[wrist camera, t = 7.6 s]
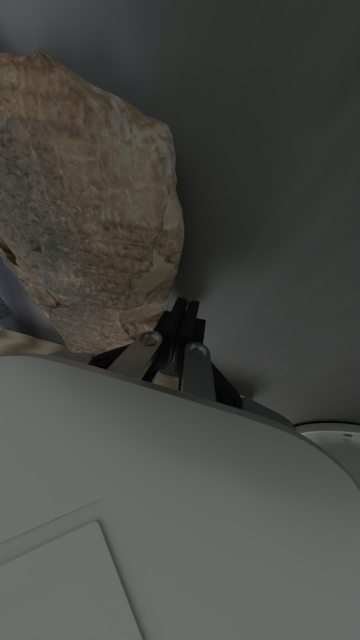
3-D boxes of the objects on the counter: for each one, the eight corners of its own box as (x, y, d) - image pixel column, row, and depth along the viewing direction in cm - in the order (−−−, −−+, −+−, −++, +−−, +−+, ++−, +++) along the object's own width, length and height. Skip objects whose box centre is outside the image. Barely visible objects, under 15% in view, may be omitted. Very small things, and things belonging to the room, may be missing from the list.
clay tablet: (164, 362, 19) (216, 121, 6) (149, 398, 15) (207, -19, 3) (73, 330, 20) (-38, 69, 7) (38, 357, 16) (-312, -86, 4)
